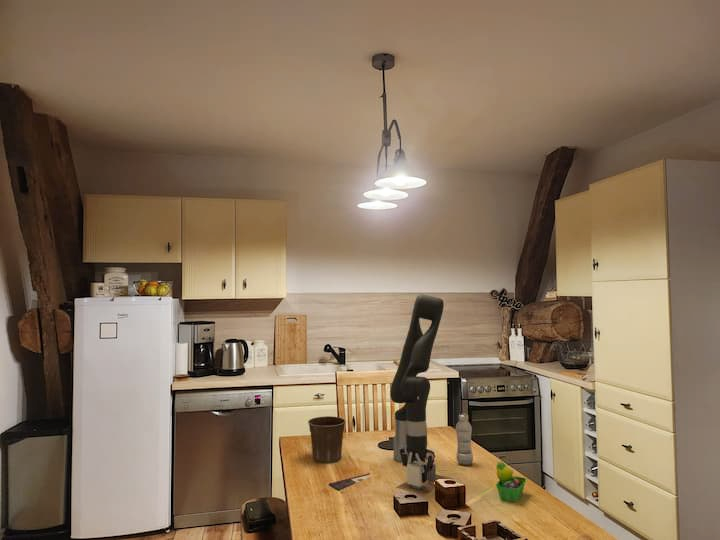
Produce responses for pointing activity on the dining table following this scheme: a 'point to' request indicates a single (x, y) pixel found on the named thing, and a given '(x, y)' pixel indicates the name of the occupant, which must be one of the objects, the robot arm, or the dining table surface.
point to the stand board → (423, 490)
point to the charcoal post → (432, 474)
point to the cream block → (414, 474)
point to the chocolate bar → (348, 482)
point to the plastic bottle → (464, 440)
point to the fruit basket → (509, 483)
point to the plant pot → (326, 438)
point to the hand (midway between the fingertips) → (417, 480)
